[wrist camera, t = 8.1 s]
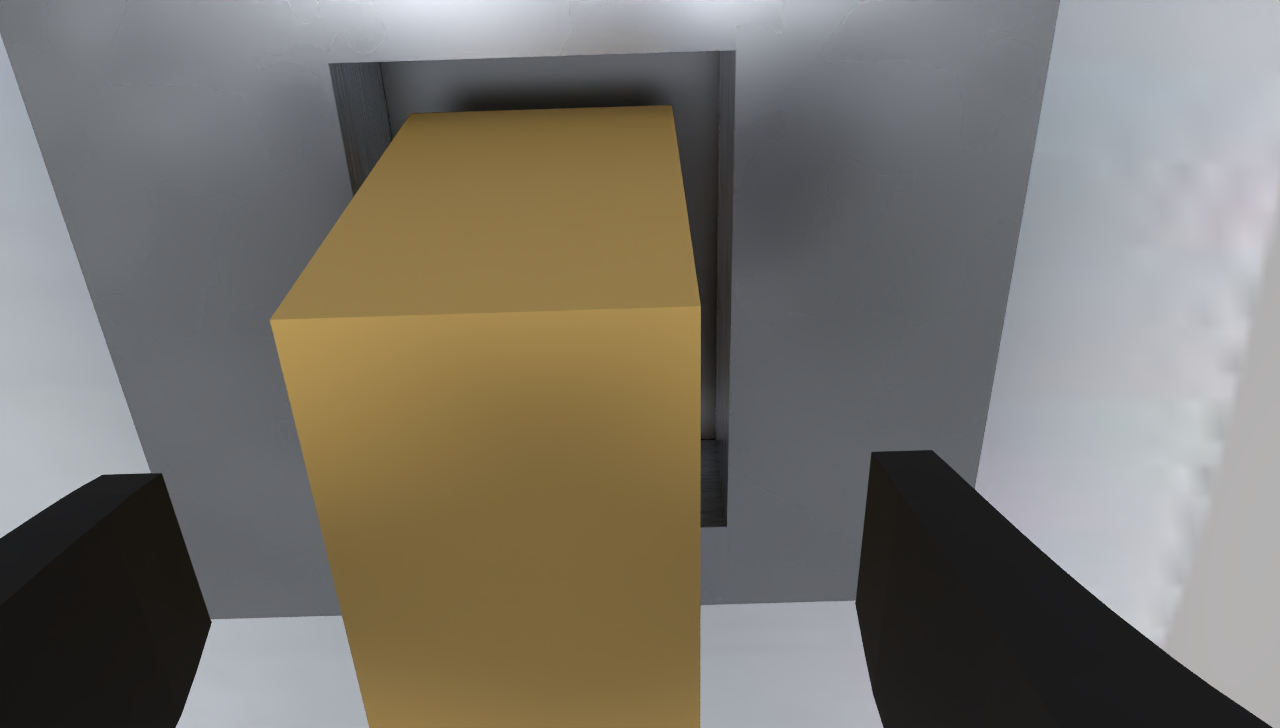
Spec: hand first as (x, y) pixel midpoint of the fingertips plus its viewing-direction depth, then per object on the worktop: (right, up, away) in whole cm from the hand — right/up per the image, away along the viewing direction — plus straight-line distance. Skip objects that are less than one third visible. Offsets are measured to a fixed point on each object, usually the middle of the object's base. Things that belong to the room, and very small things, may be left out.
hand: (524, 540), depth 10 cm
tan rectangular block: (0, +4, +6) cm, 7 cm away
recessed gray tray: (0, +5, +6) cm, 7 cm away
